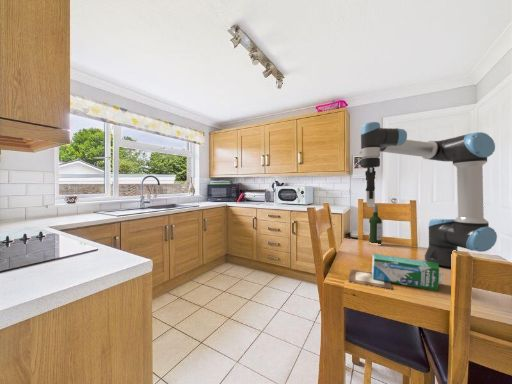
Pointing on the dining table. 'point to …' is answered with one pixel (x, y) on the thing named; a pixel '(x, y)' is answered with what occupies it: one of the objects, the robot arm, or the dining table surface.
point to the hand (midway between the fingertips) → (370, 205)
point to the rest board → (367, 279)
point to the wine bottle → (375, 227)
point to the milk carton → (406, 271)
